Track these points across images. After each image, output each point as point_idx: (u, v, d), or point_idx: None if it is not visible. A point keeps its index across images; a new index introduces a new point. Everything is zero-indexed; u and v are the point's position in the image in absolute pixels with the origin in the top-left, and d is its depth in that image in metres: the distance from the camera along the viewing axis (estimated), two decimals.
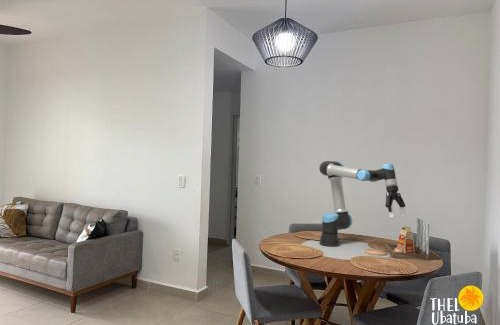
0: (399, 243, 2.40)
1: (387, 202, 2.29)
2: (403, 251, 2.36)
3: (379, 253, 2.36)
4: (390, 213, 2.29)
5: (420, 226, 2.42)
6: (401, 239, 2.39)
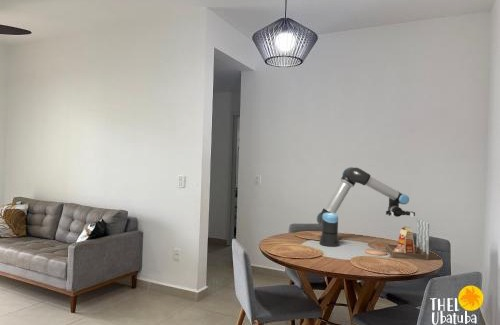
0: (399, 243, 2.40)
1: None
2: (403, 251, 2.36)
3: (379, 253, 2.36)
4: None
5: (420, 226, 2.42)
6: (401, 239, 2.39)
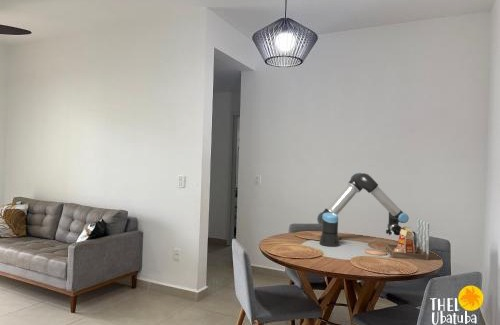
0: (399, 243, 2.40)
1: None
2: (403, 251, 2.36)
3: (379, 253, 2.36)
4: None
5: (420, 226, 2.42)
6: (401, 239, 2.39)
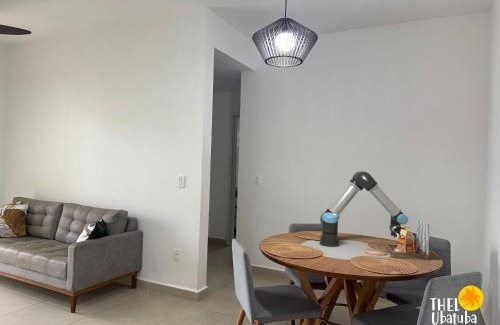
0: (399, 243, 2.40)
1: None
2: (403, 251, 2.36)
3: (379, 253, 2.36)
4: None
5: (420, 226, 2.42)
6: (401, 239, 2.39)
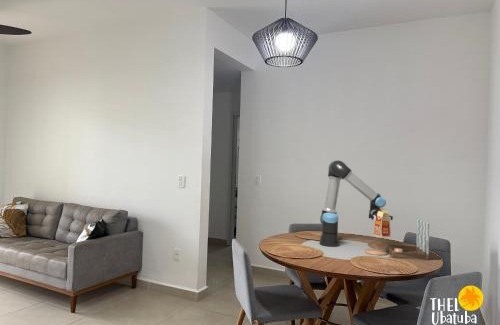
0: (376, 225, 2.42)
1: None
2: (379, 232, 2.38)
3: (379, 253, 2.36)
4: None
5: (420, 226, 2.42)
6: (377, 221, 2.41)
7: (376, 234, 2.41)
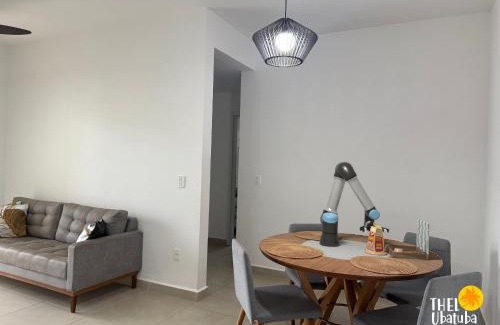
0: (369, 240, 2.42)
1: None
2: (372, 248, 2.38)
3: (379, 253, 2.36)
4: None
5: (420, 226, 2.42)
6: (371, 236, 2.41)
7: (369, 249, 2.41)
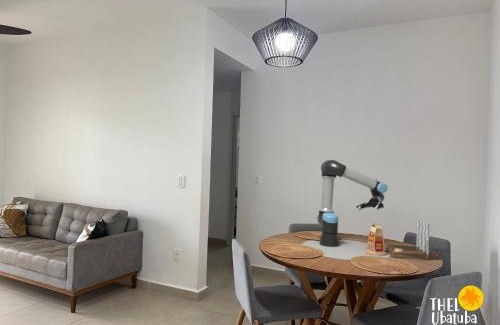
0: (369, 240, 2.42)
1: None
2: (372, 248, 2.38)
3: (379, 253, 2.36)
4: (377, 207, 2.51)
5: (420, 226, 2.42)
6: (371, 236, 2.41)
7: (369, 249, 2.41)
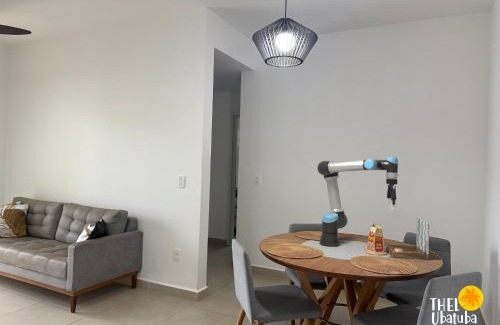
0: (369, 240, 2.42)
1: (394, 195, 2.39)
2: (372, 248, 2.38)
3: (379, 253, 2.36)
4: (392, 205, 2.41)
5: (420, 226, 2.42)
6: (371, 236, 2.41)
7: (369, 249, 2.41)
